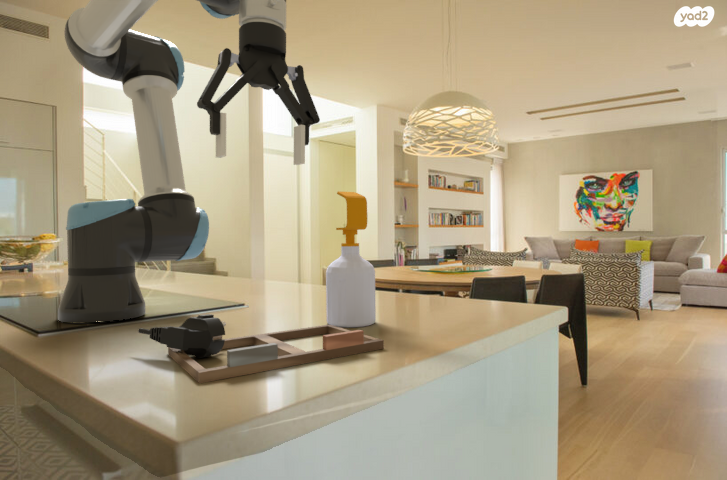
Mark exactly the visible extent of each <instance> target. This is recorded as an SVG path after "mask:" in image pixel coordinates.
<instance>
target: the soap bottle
mask: <svg viewBox="0 0 727 480" xmlns="http://www.w3.org/2000/svg"><path fill="white" fill-rule="evenodd" d="M336 194H337V195H339V196H340V197H342V198H344V199H345V202H346V224H345V227H335V228H336V229H335V230H336V231H342V235H345V242H344V243H343V242H342V243H341V247H340V248H341V249H340V250H341V251H340V252H341V254H340V256H339V257H338V258H336V259H335V260H333V261H332V262H330V264H329V265H327V268H326V271H325V291H326V292H325V293H326V300H325V301H326V303H325V305H326V309H325V310H326V323H327V325H333V326H337V327H340V328H345V329H347V328H348V329H349V328H351V329H352V328H363V327H368V326H371V325H373V324H374V323H376V313H377V312H376V270H375V267H374V265H373V264H372V263H370V261H369V260H367V259H365V258H363V257H362V256H361V254H360V243H359V242H356V241H355V239H356V238H355V236H356V235H358V231H359V230H360V231H361V230H365V229H367V227H368V200H367V198H366V196H364V195H363V194H360V193H358V192H354V191H339V190H338V191H337V192H336Z"/></svg>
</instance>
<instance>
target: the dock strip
mask: <svg viewBox="0 0 727 480" xmlns="http://www.w3.org/2000/svg"><path fill="white" fill-rule="evenodd" d="M318 335H319V336H320V335H322V348H321V349H315V350H314V349H313V350H309V351H306V350H303V349H301V348H299V347H297V346H294V345H291V344H289V343H286V342H284V341H285V340H292V339H298V338H300V339H301V338H305V337H312V336H318ZM222 339H223V340H225V343H224V345H223V347H222V349H221V350H226V349H227V350H226V365H222V366H216V367H209V368H205V367H204V366H202V365H201V364H200V363H198V362H197V361H196V360H195V359H194V358H192V357H191V356H190V355H187V354H186V353H185V351H184V350H180V349H175V348H169V347H167V353H168V354H167V355H168V356H169V357H170V358H172V359H173V361H174V362H175V363H177V364H178V365H179V366H180V367H181V368H182V369H183V370H185V372H187V373H188V374H189V375H190V376H191V377H192V378H193V379H194V380H195V381H197V382H198V383H199V384H204V383H208V382H210V383H211V382H214V381H218V380H225V379H231V378H235V377H241V376H245V375H251V374H255V373H256V374H257V373H261V372H266V371H268V372H269V371H272V370H278V369H282V368H283V369H285V368H288V367H294V366H298V365H304V364H309V363H314V362H320V361H324V360H325V361H326V360H331V359H336V358H341V357H346V356H353V355H357V354H363V353H367V352H373V351H378V350H383V349H384V348H385V347H384V346H385V345H384V344H385V343H384V339H381V338H377V337H374V336H370V335H367V334H364V330H361V329H356V330H350V329H347V328H345V327H337V326H333V325H329V324H324V325H317V326H310V327H309V326H308V327H303V328H301V327H300V328H295V329H289V330H281V331H280V330H279V331H275V332H266V333H259V334H252V335H244V336H238V337H232V338H231V337H230V338H225V339H224V338H222Z"/></svg>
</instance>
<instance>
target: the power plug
mask: <svg viewBox="0 0 727 480" xmlns="http://www.w3.org/2000/svg"><path fill="white" fill-rule="evenodd" d="M214 316H215V315H214V314H209V313H206V314H199V315H197V316H193V317H188V318H187V319H186V320H185V321H184V322H183V323H182V324H181V325H180V326H156V327H150V329H146V328H142V327H141V328H138V330H137V332H138V333H139V334H144V335H147V336H148V335H149V339H151V340H153V341H155V342H157V343H159V344H161V345H166V348H168V347H169V348H175V349H180V350H184V351H185V353H186V354H187V355H188V356H193V357H195V358H196V359H197V358H198V359H202V358H203V359H204V358H208V357H211V356H216V355H217V354H218V353H220V351H222V350H223V349H222V347H223V345H224V343H225V340H223V339H224V338H223V336H225V335H226V330H225V327H226V324H227V323H226V321H224V320H223V321H222V320H221V319H220V318H219V317H214Z"/></svg>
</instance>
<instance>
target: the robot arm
mask: <svg viewBox="0 0 727 480" xmlns="http://www.w3.org/2000/svg"><path fill="white" fill-rule="evenodd" d="M158 1H159V0H89V1H88V3H87V4H86V5H85V7H81V8H77V9H75V10H74V11H73V12H72V13H71V15H70V16H69V17H68V18H67V20H66V22H65V26H64V30H63V31H64V40H65V42H66V47H67V49H68V50H69V52H70V54H71V55H72V56H73V58H74V60H76V62H77V63H79V64H80V65H81V66H82V67H83V68H84V69H85V70H86V71H88V72H90V73H91V74H93V75H95V76H98V77H100V78H104V79H108V80H112V81H116V82H121V84H122V90H123V93H124V95H125V96H126V98H128V99H130V100H131V102H132V103H131V104H132V111H133V119H134V126H135V132H136V141H137V149H138V157H139V164H140V170H141V171H140V172H141V179H142V186H143V187H142V188H143V195H142V197H140V199H138V201H137V205H136V202H135V201H134V198H133V199H132V198H120V199H109V200H107V199H106V200H96V201H85V202H78V203H74V204H73V205H71V206H70V207H69V208H68V210H67V217H66V226H65V230H66V235H67V236H66V238H67V240H66V241H67V242H66V243H67V282H66V284H65V288H64V291H63V294H62V297H61V299H60V302H59V305H58V308H57V321H58V320H59V321H61V322H60V323H63V322H72V323H71V324H74V323H73V322H96V321H97V322H98V321H110V322H114V321H113V320H119V321H123V319H125V320H130V318H131V319H135V318H138V317H141V316H144V315H145V314H146V301H145V299H144V296H143V293H142V291H141V288H140V285H139V283H138V280H137V276H136V263H142V262H143V263H146V262H147V263H148V262H165V261H167V262H169V261H170V262H171V261H176V262H180V261H183V260H191V259H195V258H197V257H199V256H200V255H201V253H202V252H203V251H204V249H205V246H206V244H207V242H208V238H209V234H210V220H209V216H208V214H207V213H206V211H205V209H203V208H201V207H196V203H195V197H194V196H193V195H192V194H190V193H189V192H188V191H187V190H186V183H185V177H184V170H183V164H182V158H181V157H182V156H181V150H180V144H179V143H180V142H179V137H178V129H177V125H176V117H175V111H174V103H173V98H175V96H176V95H177V94H178V92H179V90H180V89H181V88H182V85H183V84H184V80H185V79H184V78H185V76H184V73H185V63H184V62H185V61H184V59H183V55H182V53H181V51H180V49H179V48H178V46H176V44H174V43H172V42H171V41H170V40H169V41H168V40H166V39H164V38H162V37H159V36H151V35H150V34H149V35H148V34H145V33H141V32H138V31H135V30H133V29H132V28H133V26H135V24H136V23H137V22H138V21H139V20H140V19H142V17H144V15H146V13H147V12H148V11H149V10H150V9H151V8H152V7H153V6H154V5H155V4H156V3H157V2H158ZM196 1H197V2H199V3H200V5H201V7H202V8H203V9H204V10H205V11H206V12H207V13H208V14H209V15H210V16H212V17H214V18H216V19H220V20H223V19H229V18H230V17H232V16H233V17H234V16H236V15H238V24H239V26H240V27H239V28H238V54H236V53H234V52H232V50H231V49H230V48H228V47H225V48H224V49H223V50H221V51H220V53H219V54H218V57H217V58H218V60H217V66H216V68H215V69H214V71H213V73H212V74H211V77H210V79H209V81H208V82H207V84H206V86H205V87H204V89H203V91H202V93H201V95H200V97H199V98H198V100H197V102H196V106H197V108H198V109H202V110H205V111H206V112H207V114H208V116H209V133H210V135H211V136H212V135H213V136H215V158H218V159H219V158H220V159H221V158H224V157H226V156H227V113H226V112H221V111H222V110H223V109H224V108H225V107H226V105H228V104H229V102H231V101H232V99H234V97H235V96H236V95H237V94H238V93H240V91H241V90H242V89H243V88H244V87H245V86H247V84H248V85H250V86H251V88H261V89H263V90H268V91H270V90H272V91H273V92H274V93H275V95H277V97H279V99H280V100H281V102H282V103H283V105H284V106H285V107H286V109H287V111H288V112H289V113H290V115H291V117H292V118H293V120H294V121H295V123H296V124H297V125H296V126H294V127H293V165H294V166H295V165H296V166H299V165H305V161H306V146H308V145H309V143H310V126H312V125H313V126H314V125H315V124H319V123H320V116H319V113H318V111H317V108H316V106H315V103H314V101H313V98H312V96H311V93H310V91H309V88H308V85H307V83H306V80H305V74H304V73H305V72H304V67H303V66H302V65H297V66H289V65H287V61H286V57H287V33H286V29H287V0H196ZM234 64H236V66H237V67H238V69H239V72H241V75H240V76H238V78H237V79H235V80H234V82H233V83H232V84H231V85H230V86H229V87H228V88H227V89H226V90H225V91H224V92H223V93H222V95H220V96H219V97H218V98H217V100H216V101H214V102H213V101H212V100H213V98H214V96H215V94H216V92H217V90H218V89H219V86H220V85H221V83H222V81H223V80H224V77H225V75H226V74H227V72H228V71H229V69H230V67H232V66H233V65H234ZM286 75H287V77H288V80H290V82H291V85H292V88H293V90H294V93H295V95H296V96H295V95H294V93H293V92H292V90H291V88H290V84H289V83H288V81H287V80H286V78H285V77H286ZM176 97H177V96H176ZM59 321H58V322H59Z"/></svg>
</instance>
